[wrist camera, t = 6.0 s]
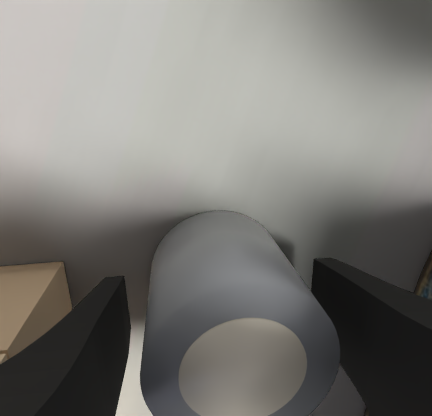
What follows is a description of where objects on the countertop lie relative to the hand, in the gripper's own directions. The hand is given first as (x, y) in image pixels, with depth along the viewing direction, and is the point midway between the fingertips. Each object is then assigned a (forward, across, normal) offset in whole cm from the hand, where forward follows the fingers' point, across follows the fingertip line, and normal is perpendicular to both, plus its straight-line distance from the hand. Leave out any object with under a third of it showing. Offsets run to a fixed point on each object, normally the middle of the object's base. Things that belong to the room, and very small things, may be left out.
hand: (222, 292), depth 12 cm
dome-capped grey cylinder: (+2, 0, 0) cm, 2 cm away
